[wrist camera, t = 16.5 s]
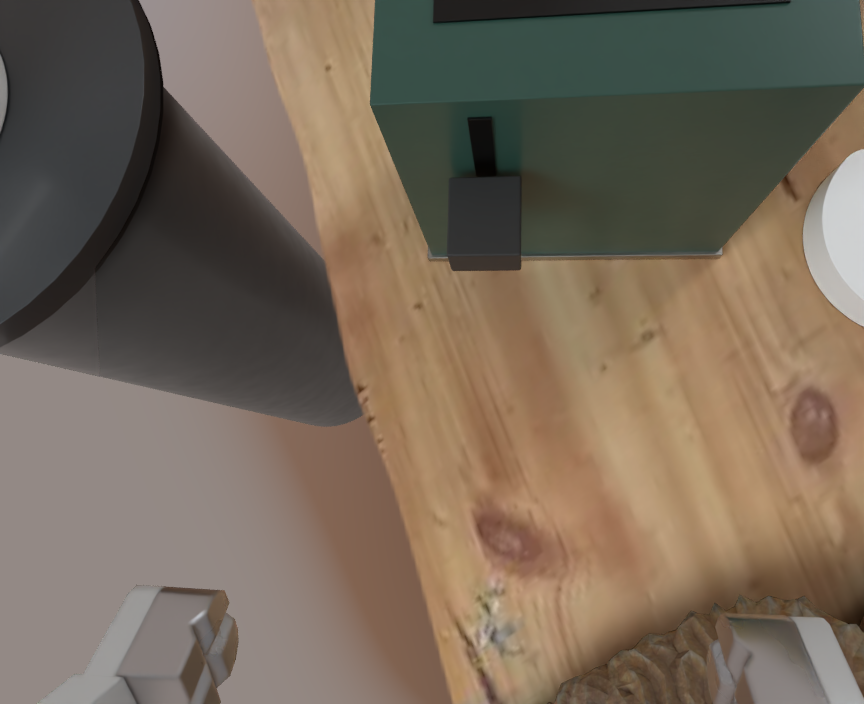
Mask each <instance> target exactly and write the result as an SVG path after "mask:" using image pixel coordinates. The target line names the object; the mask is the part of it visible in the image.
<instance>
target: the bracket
mask: <svg viewBox="0 0 864 704" xmlns="http://www.w3.org/2000/svg"><path fill="white" fill-rule="evenodd" d="M803 246H804V253H805V257H806V261H807V264H808V267H809V270H810V272H811V274H812V276H813V278H814V280H815V282H816V284H817V285H818V287H819V289H820V290H821V291H822V293H823V294H824V295H825V297H826V298H827V299H828V300H829V301H830V302H831V303H832V304H833V305H834V306H835V307H836V308H837V309H838V310H839V311H840V312H841V313H843V314H844V315H845V316H847V317H848V318H849V319H851V320H852V321H854V322H856V323H857V324H859V325H861V326H863V327H864V149H862V150H859V151H856V152H854V153H852V154H851V155H850V156H848V157H847V158H846V159H845V160H844V161H843V162H842V163H841V164H840V165H839V166H838V167H837V168H836V169H835V170H834V171H833V172H832V173H831V174H830V175H829V176H828V177H827V178H826V179H825V180H824V181H823V182H822V183H821V185H820V186H819V187H818V189H817V190H816V192H815V194H814V195H813V197H812V199H811V201H810V203H809V206H808V209H807V212H806V216H805V220H804V227H803Z"/></svg>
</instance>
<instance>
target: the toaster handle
mask: <svg viewBox="0 0 864 704" xmlns="http://www.w3.org/2000/svg"><path fill="white" fill-rule="evenodd" d="M521 208H522V178H521V176H494V177H456V178H449V189H448V224H447V257H448V260H449V263H450V266H451V269H452V270H453V271H500V270H520V269H521Z"/></svg>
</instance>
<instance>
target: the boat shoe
mask: <svg viewBox="0 0 864 704" xmlns="http://www.w3.org/2000/svg"><path fill="white" fill-rule="evenodd" d="M859 628H860V629H861V630H862V632H863V633H864V617H863V618H862V621H861V624H860V627H859Z"/></svg>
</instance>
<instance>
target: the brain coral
mask: <svg viewBox="0 0 864 704" xmlns="http://www.w3.org/2000/svg"><path fill="white" fill-rule="evenodd" d="M722 613H732V614H764V615H786V616H787V617H819V618H824V619H825V620H826V621H827V622H828V623H829V624H830V626H831V628H832V630H833V633H834V635H835V637H836V639H837V641H838V643H839V646H840V648H841V650H842V652H843V654H844V656H845V659H846V661H847V663H848V665H849V667H850V669H851V672H852V674H853V676H854V678H855V680H856V682H857V685H858V687H859V689H860V691H861V693H862V695H863V698H864V633H863V632H862V630H861V629H860V628H859V627H858V625H857V624H847V623H845V622H843V621H840V620H838V619H836V618H834V617H832V616H830V615H829V614H827V613H825V612H823V611H822V610H820V609H818V608H817V607H815V606H814V605H813V604H812V603H811V602H810V601H809V600H808V599H807V598H806V597H805V596H803V597H801V598H799V599H796V600H782V599H778V598H774V597H771V596H767V597H766V598H764V599H762V600H760V601H759V602H757V603H756V602H754V601H752V600H750V599H748V598H746V597H744V596H742V595H739V598H738V600H737V602H736V605H735V606H734V607H733V608H731V609H729V610H727V611H725V610H724V609H722V608H721V607H720V606H718V605H717V604H716V603H714V605H713V607H712V610H711V612H710V614H709V615H705V614H699V613H696V612H693V611H690V613H689V614H688V615H687V617H686V618H685V619H684V620H683V622H682V623H681V624H680V626H679V627H678V629H677V630H675V631H671V632H668V633H666V634H664V635H661V634H648V635H646V636H645V637H644V638H642V639H641V640H640V641H639V643H638V644H637V645H636V646H635V647H634V648H633V649H631V650H621V651H620V652H619V653H618V654H616V655H615V656H614V657H613V658H611V659H610V661H609V662H608V664H607V665H603V666H600V667H597V668H595V669H593V670H592V671H590V672H589V673H587V674H584V675H580V676H577V677H574V678H572V679H570V680H568V681H566V682H564V683H562V684H561V686H560V689H559V692H558V694H557V697H556V700H555V703H551V702H548V704H713V703H712V699H711V695H710V691H709V685H708V679H707V655H708V650H709V646H710V644H711V643H712V642H714V641H715V640H717V639H718V635H717V632H716V628H715V626H716V623H717V619H718V617H719V616H720V615H721V614H722Z"/></svg>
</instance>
